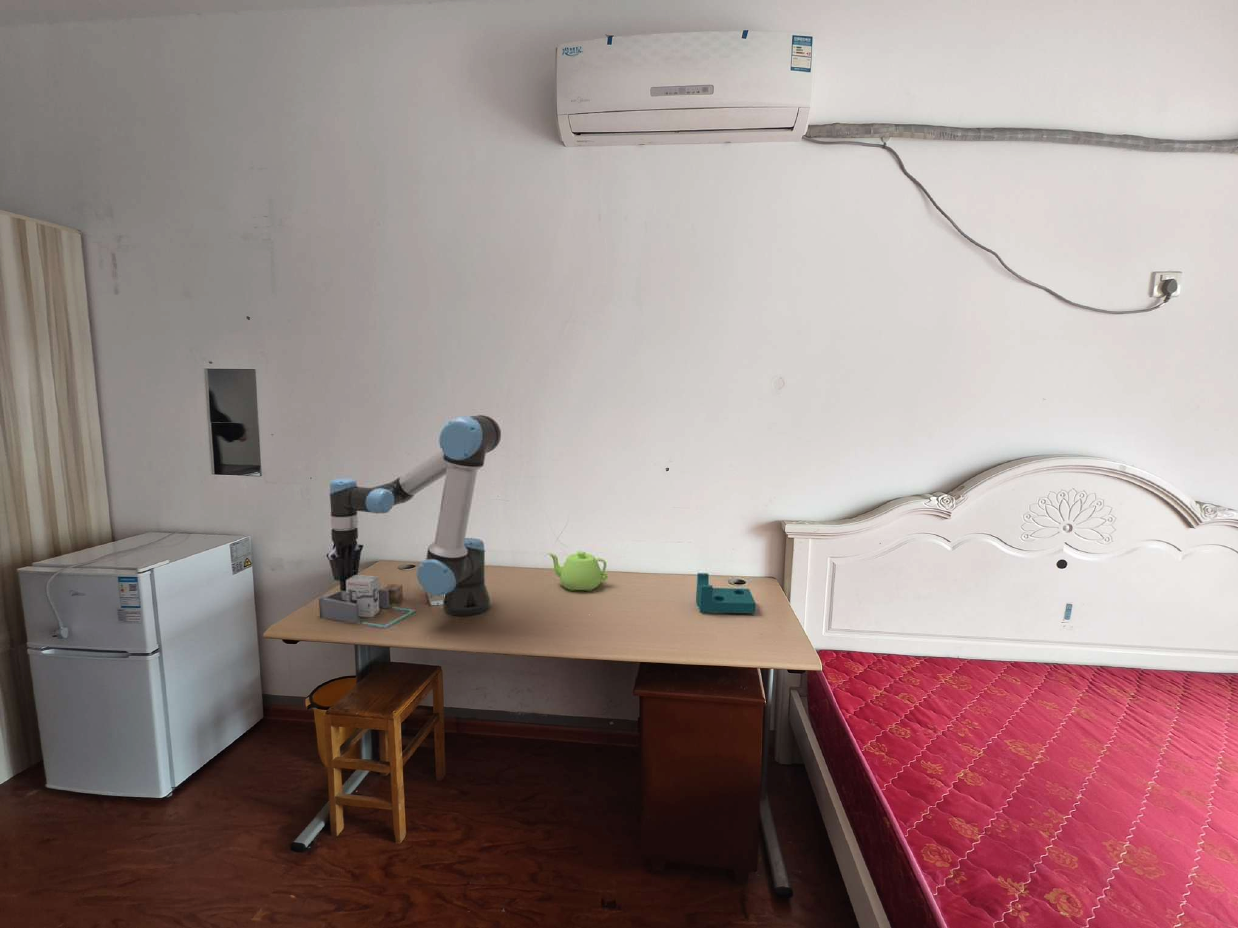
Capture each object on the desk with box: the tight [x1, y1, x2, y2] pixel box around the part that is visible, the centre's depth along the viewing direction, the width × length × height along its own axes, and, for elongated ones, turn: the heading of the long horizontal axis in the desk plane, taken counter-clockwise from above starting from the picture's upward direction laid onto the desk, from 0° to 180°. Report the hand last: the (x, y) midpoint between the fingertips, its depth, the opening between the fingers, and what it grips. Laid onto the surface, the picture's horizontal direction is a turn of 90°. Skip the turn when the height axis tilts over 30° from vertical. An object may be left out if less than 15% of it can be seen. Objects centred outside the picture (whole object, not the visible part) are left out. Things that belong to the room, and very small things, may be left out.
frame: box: [362, 606, 417, 630], centre depth 178 cm, size 8×14×1 cm, turn 161°
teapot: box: [547, 550, 608, 592], centre depth 209 cm, size 22×15×13 cm
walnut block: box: [382, 583, 404, 605], centre depth 192 cm, size 5×5×5 cm
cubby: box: [318, 587, 390, 625], centre depth 182 cm, size 14×14×6 cm
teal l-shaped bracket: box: [695, 572, 757, 614], centre depth 191 cm, size 18×11×10 cm, turn 90°
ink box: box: [346, 574, 380, 618], centre depth 180 cm, size 9×5×12 cm, turn 85°
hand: (346, 599), depth 183 cm, fingers closed
